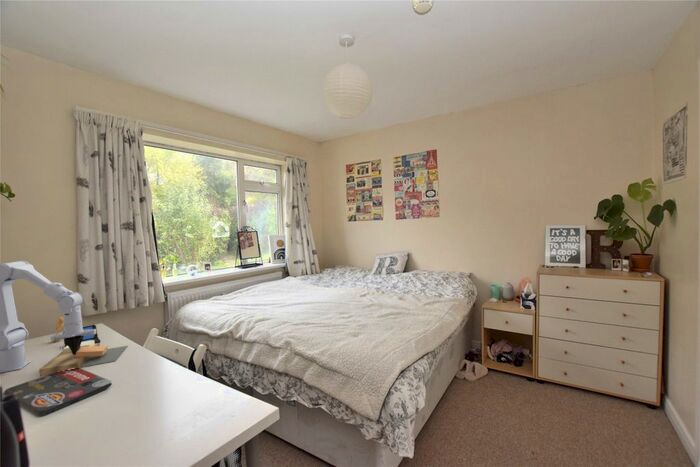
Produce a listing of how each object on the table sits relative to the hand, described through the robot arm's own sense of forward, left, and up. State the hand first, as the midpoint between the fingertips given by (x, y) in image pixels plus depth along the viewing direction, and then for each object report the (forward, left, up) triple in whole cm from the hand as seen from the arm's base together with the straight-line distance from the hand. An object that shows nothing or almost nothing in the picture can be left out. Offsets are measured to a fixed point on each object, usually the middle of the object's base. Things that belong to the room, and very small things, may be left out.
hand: (76, 353), depth 130 cm
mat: (+10, +1, -3) cm, 10 cm away
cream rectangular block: (-2, +9, -1) cm, 9 cm away
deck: (-2, +2, -3) cm, 4 cm away
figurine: (-20, +36, -4) cm, 41 cm away
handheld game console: (-6, +24, -4) cm, 25 cm away
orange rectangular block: (+5, 0, -1) cm, 5 cm away
